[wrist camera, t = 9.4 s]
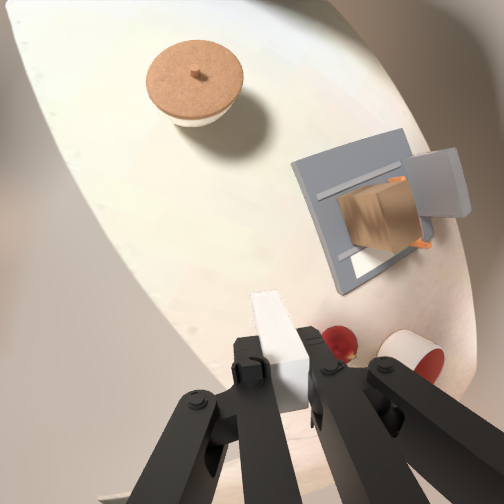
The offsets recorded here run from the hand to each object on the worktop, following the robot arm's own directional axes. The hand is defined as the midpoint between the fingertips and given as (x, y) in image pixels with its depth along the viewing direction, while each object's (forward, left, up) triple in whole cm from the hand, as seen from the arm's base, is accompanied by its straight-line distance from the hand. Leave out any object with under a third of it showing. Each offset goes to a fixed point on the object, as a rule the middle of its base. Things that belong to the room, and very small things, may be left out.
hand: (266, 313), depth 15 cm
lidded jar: (-21, +4, -21) cm, 30 cm away
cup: (+30, +21, -21) cm, 42 cm away
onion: (+18, +9, -21) cm, 29 cm away
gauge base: (+2, +24, -21) cm, 32 cm away
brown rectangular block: (+2, +20, -19) cm, 27 cm away
